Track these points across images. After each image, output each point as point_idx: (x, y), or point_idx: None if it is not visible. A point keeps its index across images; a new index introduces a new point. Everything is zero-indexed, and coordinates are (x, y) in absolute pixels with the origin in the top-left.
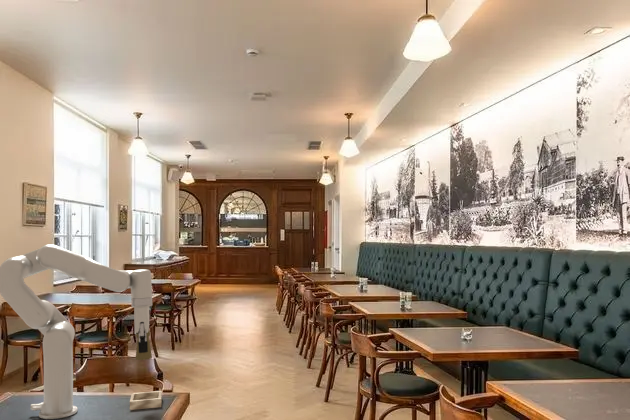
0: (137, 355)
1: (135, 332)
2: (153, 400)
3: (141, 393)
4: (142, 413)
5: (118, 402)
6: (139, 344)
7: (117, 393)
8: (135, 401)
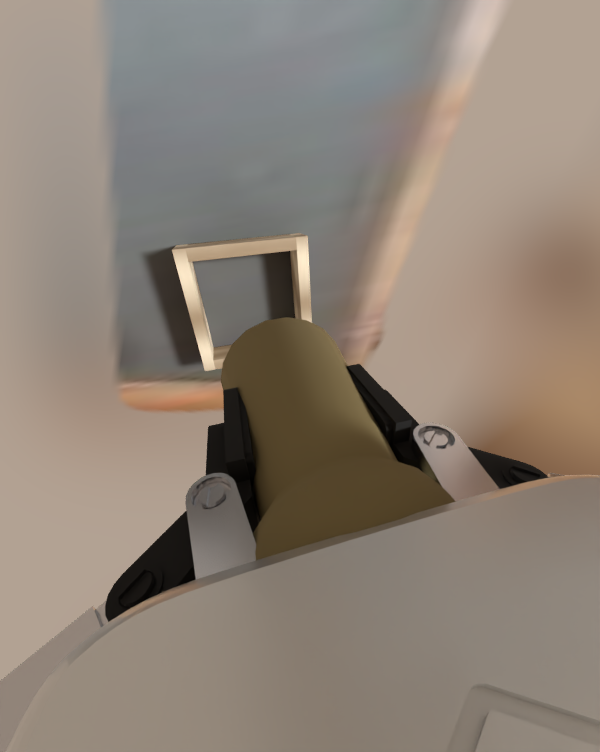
0: (241, 358)
1: (26, 715)
2: (198, 344)
3: (299, 280)
4: (128, 307)
5: (298, 169)
6: (227, 450)
7: (438, 139)
8: (179, 275)
